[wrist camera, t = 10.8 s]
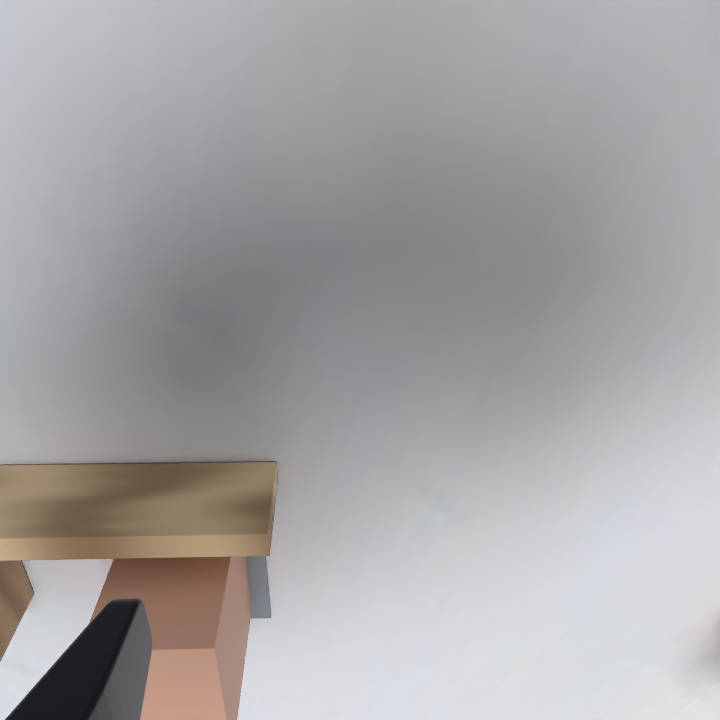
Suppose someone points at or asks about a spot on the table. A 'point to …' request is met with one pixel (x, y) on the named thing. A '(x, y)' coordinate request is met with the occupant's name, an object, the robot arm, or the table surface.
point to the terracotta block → (189, 631)
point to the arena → (132, 520)
